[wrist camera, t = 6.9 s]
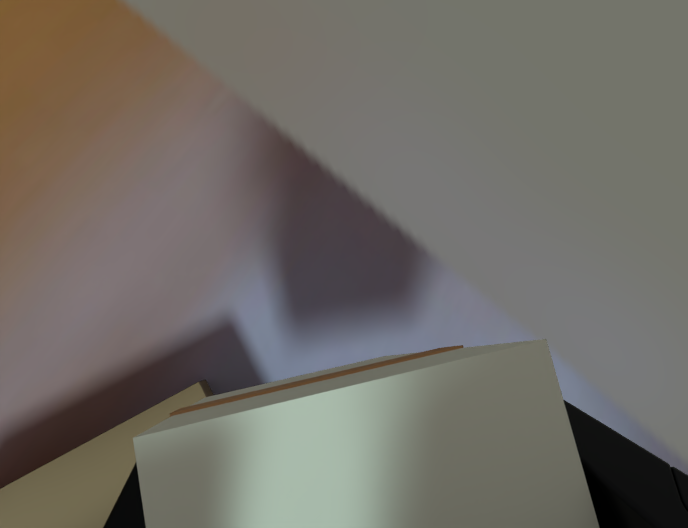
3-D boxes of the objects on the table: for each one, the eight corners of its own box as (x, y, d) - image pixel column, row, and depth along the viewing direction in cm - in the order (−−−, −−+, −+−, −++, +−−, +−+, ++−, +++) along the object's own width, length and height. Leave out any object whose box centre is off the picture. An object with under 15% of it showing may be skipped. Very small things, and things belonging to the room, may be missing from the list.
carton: (413, 478, 17) (630, 625, 7) (226, 531, 16) (180, 798, 6) (385, 354, 17) (548, 334, 8) (203, 396, 16) (127, 434, 7)
